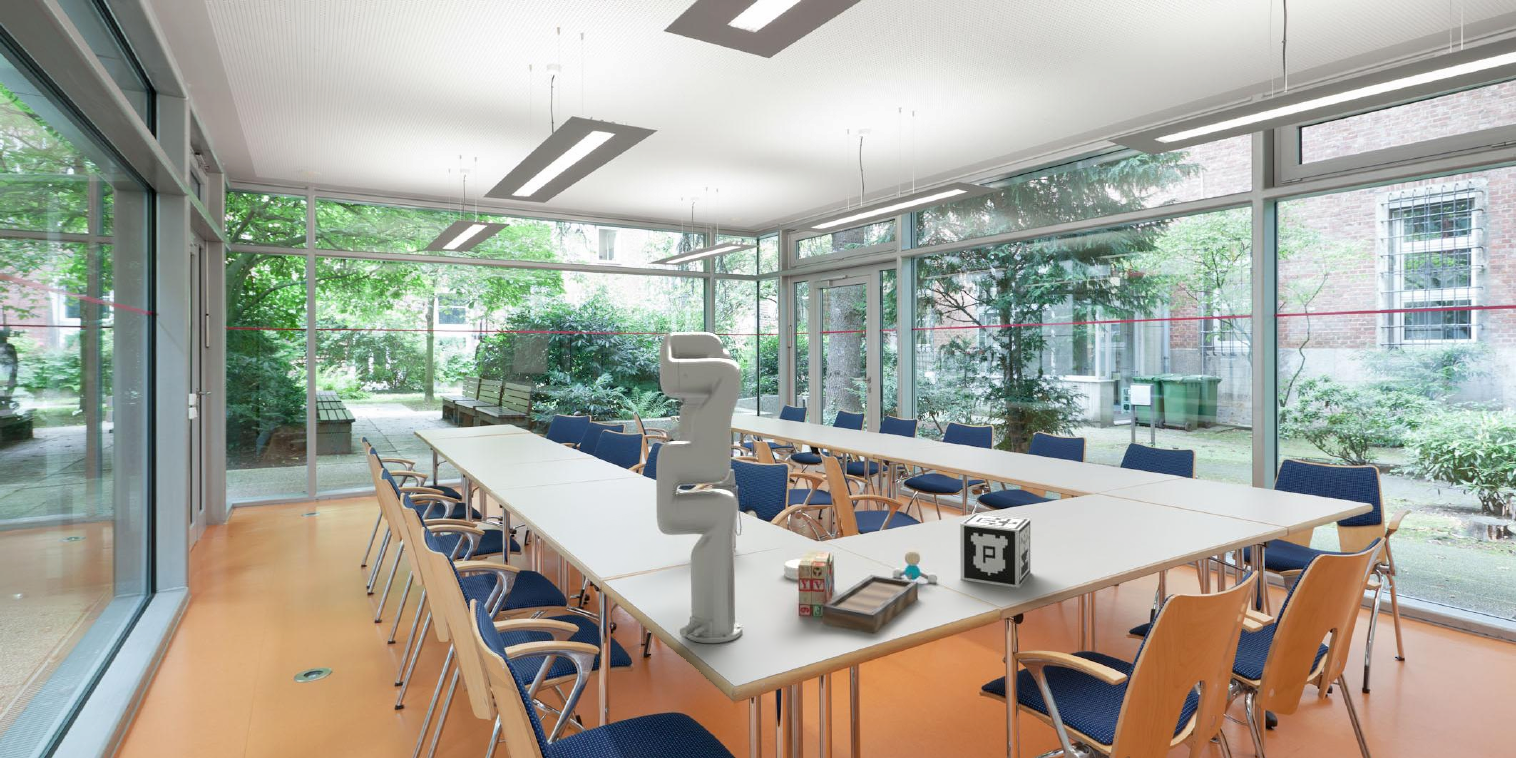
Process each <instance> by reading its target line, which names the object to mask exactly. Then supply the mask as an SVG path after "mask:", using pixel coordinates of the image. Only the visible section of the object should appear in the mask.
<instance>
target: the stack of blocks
mask: <svg viewBox="0 0 1516 758" xmlns="http://www.w3.org/2000/svg"><path fill="white" fill-rule="evenodd" d="M830 553H831V552H830V551H813V550H812V551H810V550H805V552H804V554H803V556H802V557H801V558H800V559H801V562H800V563H799V565H798V577H799V578H798V580H797V581H798V583H797V584H798V585H797V587H798V588H797V589H798V616H799V617H815V618H822V606H823V605H824V604H826V603H828V602H829V601H831V600H832V597H833V595H834V592H835V566H834V565H835V564H834V563H835V562H834V561H835V560H834V553H833V554H830ZM830 599H831V600H830Z"/></svg>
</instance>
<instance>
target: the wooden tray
mask: <svg viewBox="0 0 1516 758" xmlns="http://www.w3.org/2000/svg"><path fill="white" fill-rule="evenodd" d="M918 583H919V582H918V581H914V580H911V581H907V580H903V579H900V578H895V577H893V578H892V577H885V576H879V575H874V574H873V575H872V574H870V575H869V576H867V577H865V578H864V579H862V580H861V581H859V582H858V583H856V584H855V585H852V586H851V587H850V588H848V589H847V590H845V591H844V592H842V593H840V594H839V595H837V596H835V597H834V598H833V599H832V598H831V600H830V601H829V602H828V603H826V604H824V605H823V606H822V617H821V618H822V619H821V620H822V624H823V625H830V626H834V627H840V628H844V629H850V630H854V631H860V632H864V633H870V634H875V633H876V632H877V631H879V630H880V629H882V628H883V627H884V626H885V625H886V624H887V623H889V622H890V621H891V620H893V619H894V617H896V616H897V615H899V614H900V613H901V612H902V611H904V609H906V608H907V607H909V606H910V605H911V604H912V603H914V602H915V601H916V600H917V599H918V597H919V594H918V593H919V592H918V588H919V586H918V585H919V584H918Z"/></svg>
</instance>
